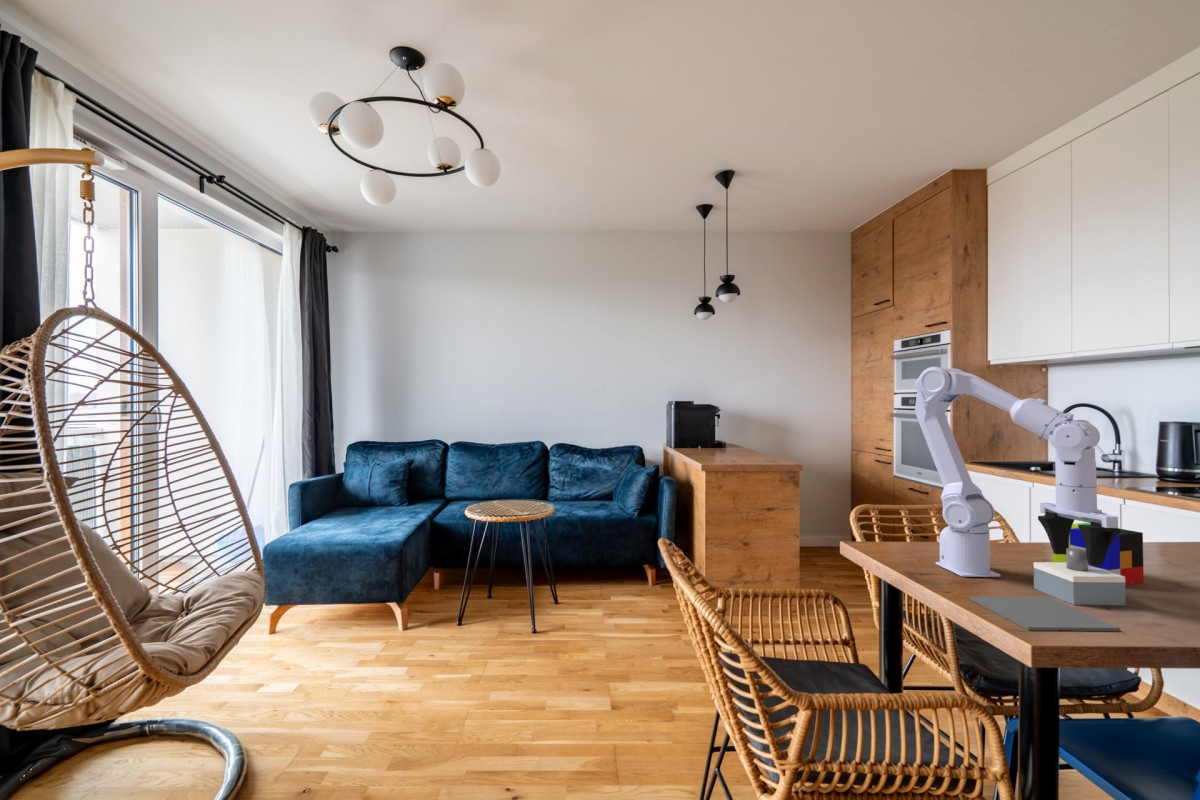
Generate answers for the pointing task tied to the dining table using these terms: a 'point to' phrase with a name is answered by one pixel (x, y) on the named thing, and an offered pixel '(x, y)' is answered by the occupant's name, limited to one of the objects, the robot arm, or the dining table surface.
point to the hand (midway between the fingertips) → (1077, 559)
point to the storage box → (1080, 590)
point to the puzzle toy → (1115, 553)
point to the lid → (1078, 569)
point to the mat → (1043, 614)
